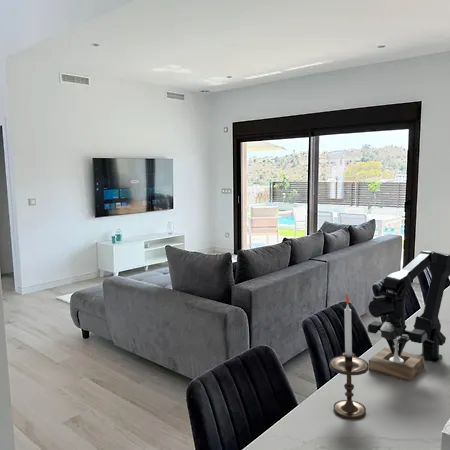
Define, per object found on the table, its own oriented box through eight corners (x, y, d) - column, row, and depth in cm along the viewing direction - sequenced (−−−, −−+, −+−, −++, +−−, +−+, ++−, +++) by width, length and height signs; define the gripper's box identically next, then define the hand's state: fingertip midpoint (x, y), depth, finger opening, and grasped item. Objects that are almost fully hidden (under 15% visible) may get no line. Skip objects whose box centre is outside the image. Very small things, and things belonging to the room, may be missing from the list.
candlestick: (327, 401, 129) (324, 289, 126) (362, 400, 129) (361, 288, 125) (335, 421, 118) (332, 299, 115) (374, 420, 118) (372, 298, 114)
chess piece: (405, 365, 146) (405, 337, 145) (390, 364, 147) (390, 336, 146) (402, 359, 150) (402, 332, 149) (387, 358, 151) (387, 331, 150)
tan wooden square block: (384, 357, 159) (384, 347, 158) (424, 367, 149) (424, 356, 149) (368, 370, 149) (368, 359, 148) (409, 382, 139) (409, 370, 139)
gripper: (360, 313, 147) (361, 356, 149) (415, 323, 135) (415, 370, 136) (374, 305, 155) (374, 346, 157) (427, 314, 143) (427, 358, 144)
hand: (396, 355), depth 148 cm, fingers closed on chess piece
